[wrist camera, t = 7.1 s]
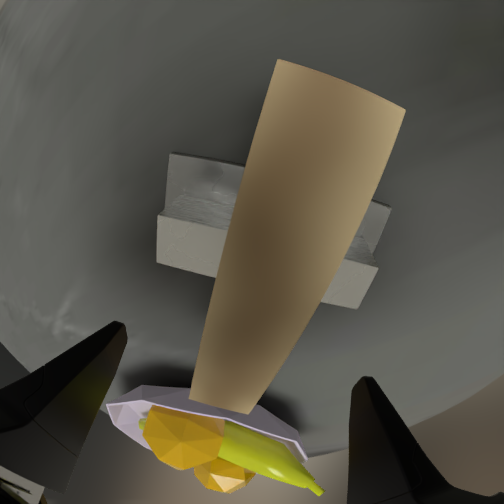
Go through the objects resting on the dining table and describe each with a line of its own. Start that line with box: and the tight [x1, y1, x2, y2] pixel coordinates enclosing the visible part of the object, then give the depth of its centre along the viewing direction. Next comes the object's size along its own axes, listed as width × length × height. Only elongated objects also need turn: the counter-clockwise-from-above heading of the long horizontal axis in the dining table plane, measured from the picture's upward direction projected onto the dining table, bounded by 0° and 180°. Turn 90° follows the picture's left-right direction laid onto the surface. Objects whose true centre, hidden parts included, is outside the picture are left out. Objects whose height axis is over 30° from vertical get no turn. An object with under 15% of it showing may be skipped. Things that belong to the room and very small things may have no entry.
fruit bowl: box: [106, 385, 325, 496], centre depth 28 cm, size 28×27×11 cm
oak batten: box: [189, 59, 406, 414], centre depth 12 cm, size 4×18×4 cm, turn 164°
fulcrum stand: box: [157, 152, 392, 309], centre depth 16 cm, size 14×8×4 cm, turn 79°
